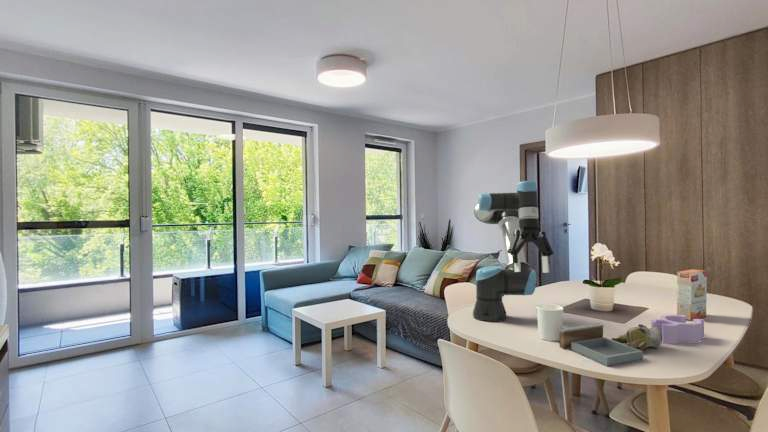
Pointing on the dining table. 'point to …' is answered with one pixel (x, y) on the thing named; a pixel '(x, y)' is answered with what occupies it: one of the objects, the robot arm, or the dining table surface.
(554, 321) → the white cup
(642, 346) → the ceramic sculpture
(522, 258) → the robot arm
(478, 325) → the dining table surface
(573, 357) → the dining table surface
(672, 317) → the clip
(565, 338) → the board
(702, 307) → the cracker box
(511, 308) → the dining table surface
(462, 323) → the dining table surface
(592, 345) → the blue gray square tray
